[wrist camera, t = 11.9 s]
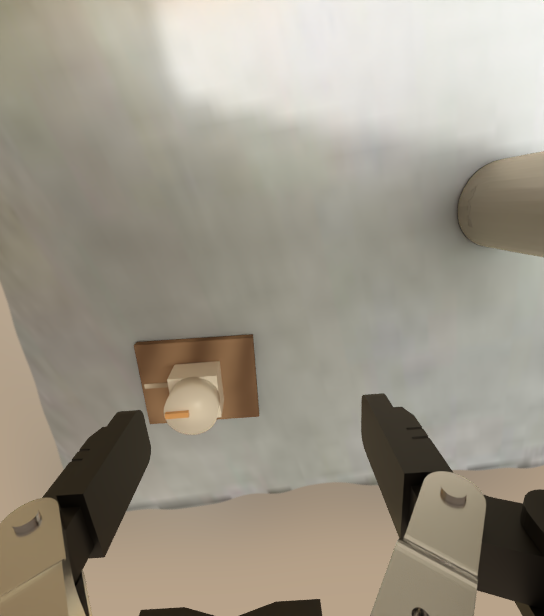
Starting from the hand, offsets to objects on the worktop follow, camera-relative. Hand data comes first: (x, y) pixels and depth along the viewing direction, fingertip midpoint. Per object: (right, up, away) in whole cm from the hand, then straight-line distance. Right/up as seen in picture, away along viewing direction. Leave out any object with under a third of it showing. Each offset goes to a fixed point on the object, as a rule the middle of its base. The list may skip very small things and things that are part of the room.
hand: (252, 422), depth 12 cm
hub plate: (-8, -5, +29) cm, 30 cm away
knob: (-8, -5, +28) cm, 29 cm away
